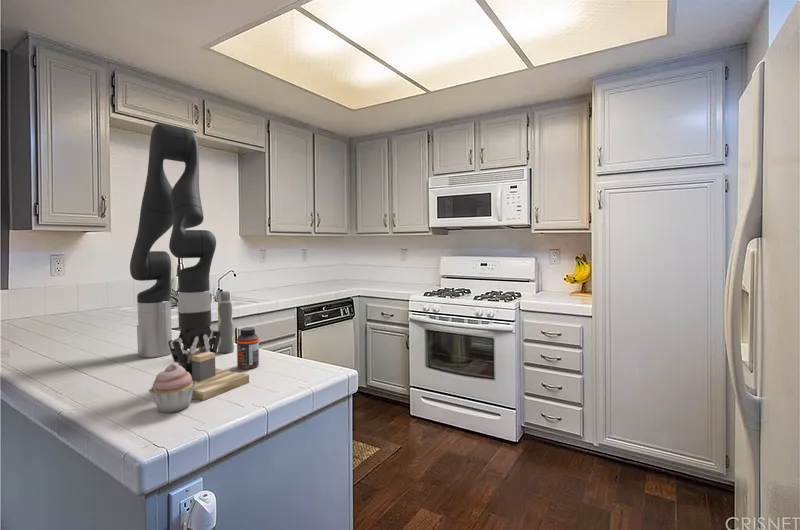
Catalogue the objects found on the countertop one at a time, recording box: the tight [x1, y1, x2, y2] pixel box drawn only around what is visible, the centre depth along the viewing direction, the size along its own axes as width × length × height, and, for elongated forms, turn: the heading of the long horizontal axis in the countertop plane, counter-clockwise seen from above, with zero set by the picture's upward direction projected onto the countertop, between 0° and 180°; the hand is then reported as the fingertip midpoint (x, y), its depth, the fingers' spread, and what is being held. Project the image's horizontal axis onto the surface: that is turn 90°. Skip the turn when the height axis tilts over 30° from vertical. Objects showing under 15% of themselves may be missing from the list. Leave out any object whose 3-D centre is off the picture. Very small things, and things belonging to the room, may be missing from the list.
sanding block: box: [177, 349, 216, 381], centre depth 108 cm, size 8×4×6 cm, turn 65°
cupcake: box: [147, 363, 197, 414], centre depth 93 cm, size 9×9×10 cm
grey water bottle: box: [217, 290, 235, 354], centre depth 139 cm, size 5×5×20 cm
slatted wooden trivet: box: [191, 367, 250, 402], centre depth 107 cm, size 15×14×2 cm
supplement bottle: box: [236, 326, 260, 370], centre depth 123 cm, size 6×6×11 cm
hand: (196, 374), depth 109 cm, fingers closed on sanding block, 4 cm apart
